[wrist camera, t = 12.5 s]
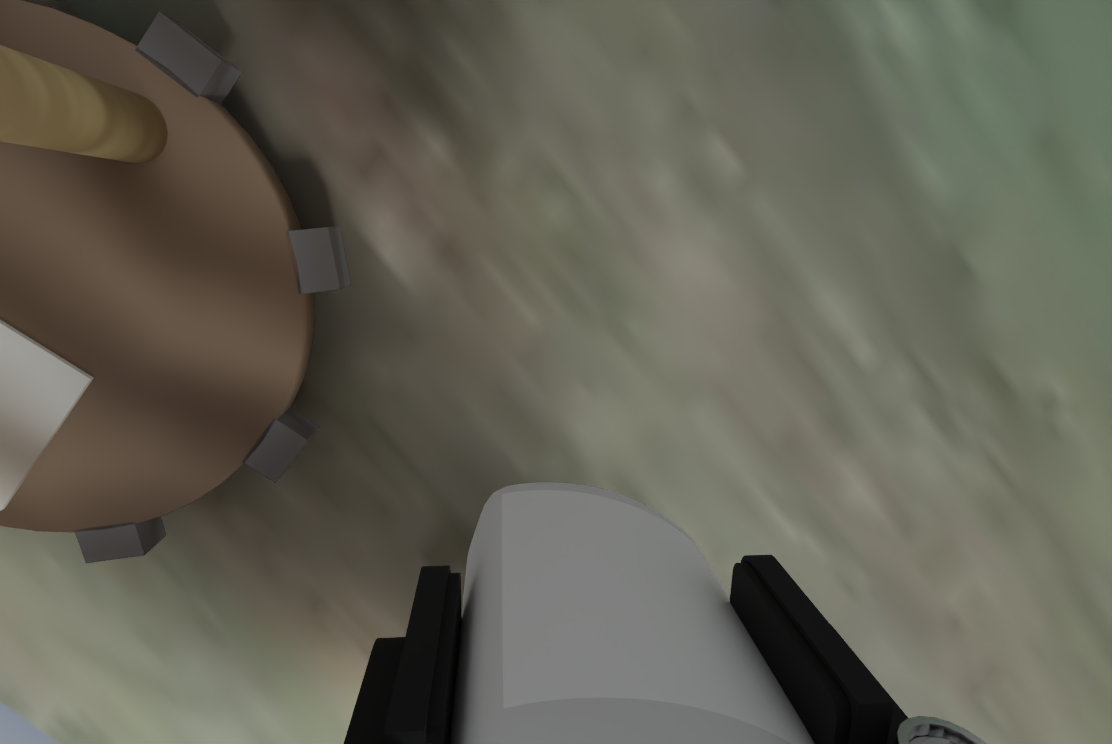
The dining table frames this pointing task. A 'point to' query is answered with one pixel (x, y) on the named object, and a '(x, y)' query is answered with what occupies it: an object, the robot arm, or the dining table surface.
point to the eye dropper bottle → (603, 631)
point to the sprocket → (140, 283)
